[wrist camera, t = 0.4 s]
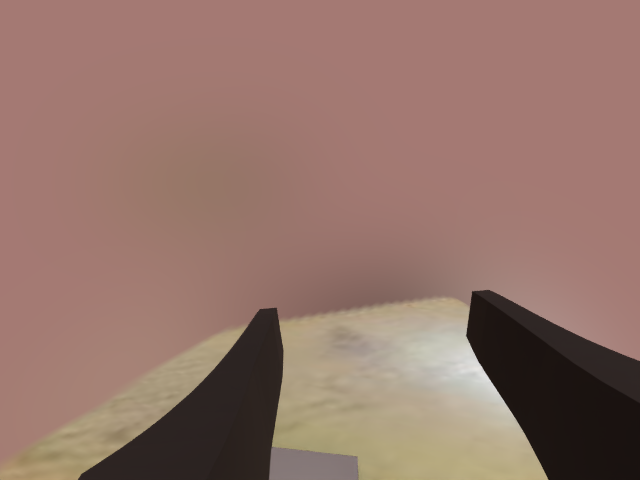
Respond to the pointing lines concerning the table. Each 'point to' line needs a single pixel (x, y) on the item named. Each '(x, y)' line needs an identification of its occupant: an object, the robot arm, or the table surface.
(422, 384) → the table surface
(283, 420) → the table surface
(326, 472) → the socket block
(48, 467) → the table surface
